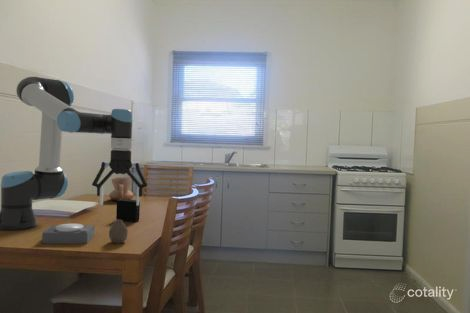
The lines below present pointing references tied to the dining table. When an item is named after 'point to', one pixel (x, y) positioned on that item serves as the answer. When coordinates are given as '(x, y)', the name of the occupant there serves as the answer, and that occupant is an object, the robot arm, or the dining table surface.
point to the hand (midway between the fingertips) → (119, 204)
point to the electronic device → (127, 210)
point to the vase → (118, 232)
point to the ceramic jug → (121, 188)
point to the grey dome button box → (68, 234)
